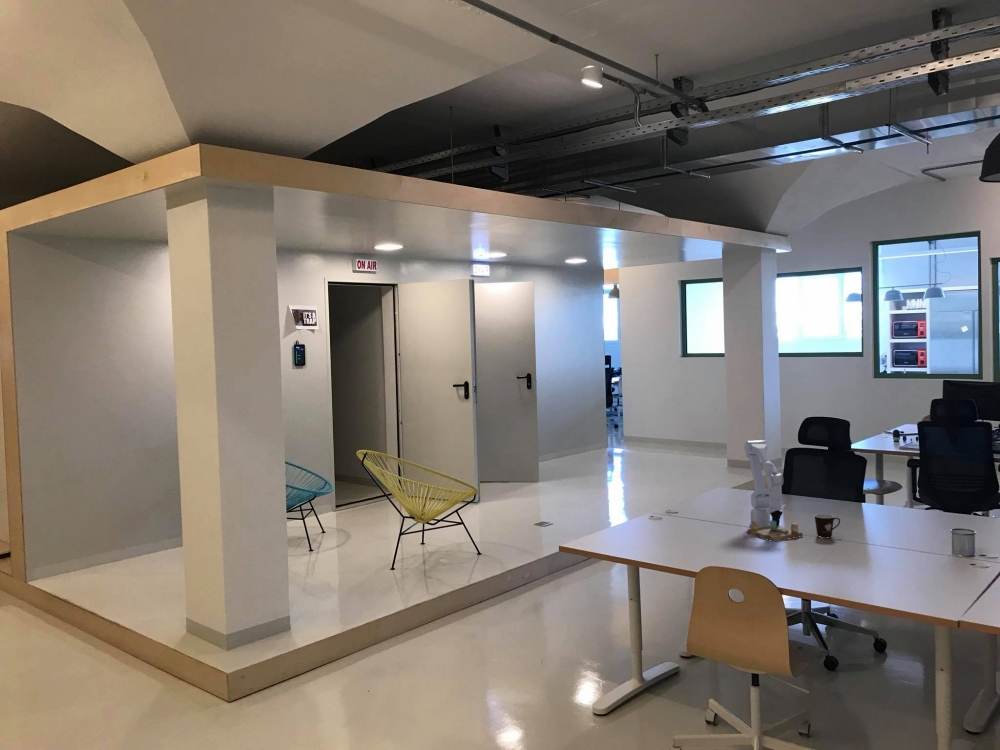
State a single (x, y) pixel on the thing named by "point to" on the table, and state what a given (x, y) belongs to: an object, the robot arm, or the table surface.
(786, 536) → the stool seat
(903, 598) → the table surface
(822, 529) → the coffee mug
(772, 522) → the folding leg
